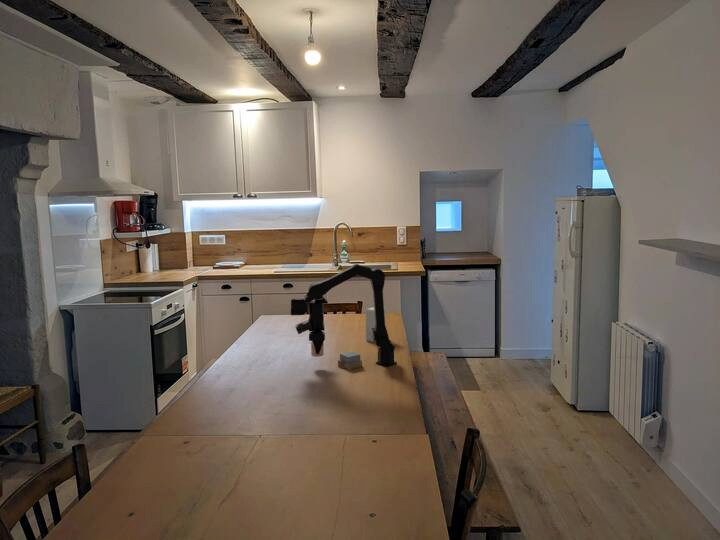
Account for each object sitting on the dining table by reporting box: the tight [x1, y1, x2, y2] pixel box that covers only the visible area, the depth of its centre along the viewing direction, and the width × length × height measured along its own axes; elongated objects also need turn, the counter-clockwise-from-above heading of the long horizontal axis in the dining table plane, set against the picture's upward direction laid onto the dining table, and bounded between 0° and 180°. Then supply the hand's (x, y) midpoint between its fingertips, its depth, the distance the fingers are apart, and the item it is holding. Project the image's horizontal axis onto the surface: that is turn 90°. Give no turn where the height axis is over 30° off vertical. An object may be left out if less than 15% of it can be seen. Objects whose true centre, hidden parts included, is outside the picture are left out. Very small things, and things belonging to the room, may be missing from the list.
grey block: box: [339, 350, 361, 363], centre depth 220 cm, size 6×6×2 cm
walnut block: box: [337, 359, 363, 371], centre depth 220 cm, size 7×7×3 cm
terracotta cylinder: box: [310, 341, 325, 358], centre depth 219 cm, size 5×5×5 cm
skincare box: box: [365, 306, 386, 343], centre depth 259 cm, size 8×7×16 cm
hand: (317, 352), depth 219 cm, fingers closed on terracotta cylinder, 5 cm apart
